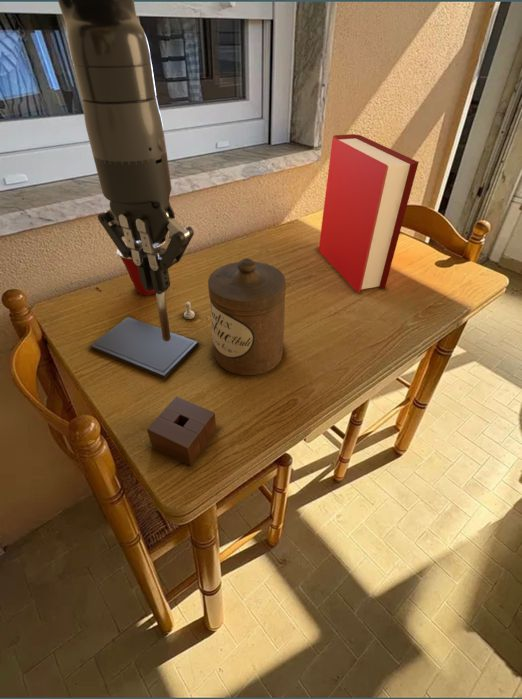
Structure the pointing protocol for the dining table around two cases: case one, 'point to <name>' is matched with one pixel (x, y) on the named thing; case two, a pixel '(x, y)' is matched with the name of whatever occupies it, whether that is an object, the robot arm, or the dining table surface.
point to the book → (364, 208)
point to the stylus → (163, 315)
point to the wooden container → (247, 316)
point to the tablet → (144, 347)
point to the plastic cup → (134, 274)
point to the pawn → (189, 311)
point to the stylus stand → (182, 430)
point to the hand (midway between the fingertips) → (156, 289)
